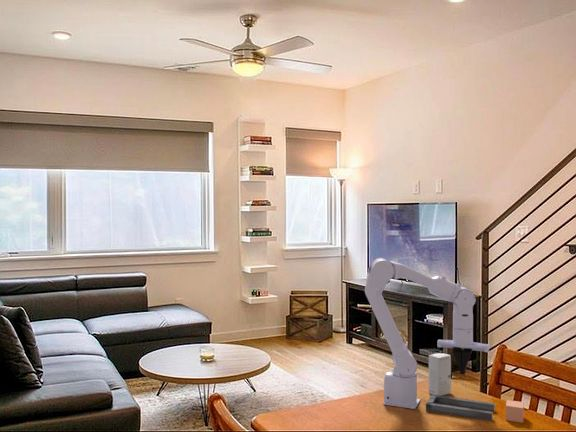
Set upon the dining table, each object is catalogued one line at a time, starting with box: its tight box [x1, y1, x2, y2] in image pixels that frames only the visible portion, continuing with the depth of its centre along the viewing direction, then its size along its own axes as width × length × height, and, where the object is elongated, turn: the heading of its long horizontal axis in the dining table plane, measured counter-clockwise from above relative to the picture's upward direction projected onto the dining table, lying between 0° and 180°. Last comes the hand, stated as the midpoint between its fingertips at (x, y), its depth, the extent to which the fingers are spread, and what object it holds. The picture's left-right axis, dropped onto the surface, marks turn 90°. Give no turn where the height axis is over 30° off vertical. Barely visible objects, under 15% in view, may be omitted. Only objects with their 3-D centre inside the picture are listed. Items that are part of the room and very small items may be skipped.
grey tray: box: [425, 394, 496, 422], centre depth 158 cm, size 18×9×2 cm, turn 65°
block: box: [505, 399, 525, 424], centre depth 152 cm, size 4×5×4 cm
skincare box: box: [428, 352, 452, 396], centre depth 173 cm, size 6×4×12 cm
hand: (462, 373), depth 162 cm, fingers closed
